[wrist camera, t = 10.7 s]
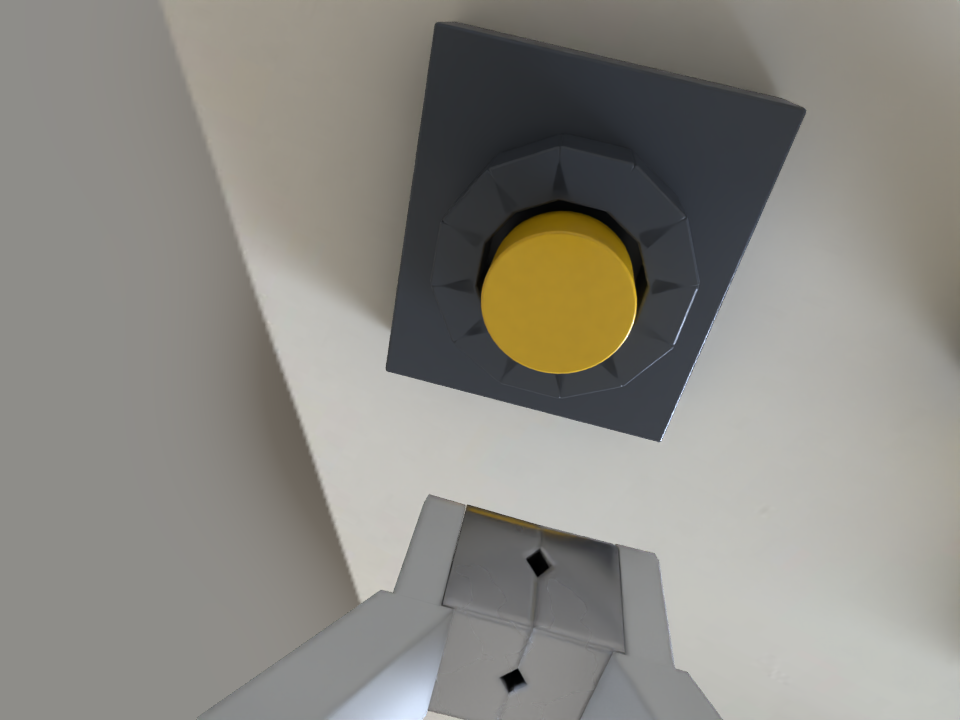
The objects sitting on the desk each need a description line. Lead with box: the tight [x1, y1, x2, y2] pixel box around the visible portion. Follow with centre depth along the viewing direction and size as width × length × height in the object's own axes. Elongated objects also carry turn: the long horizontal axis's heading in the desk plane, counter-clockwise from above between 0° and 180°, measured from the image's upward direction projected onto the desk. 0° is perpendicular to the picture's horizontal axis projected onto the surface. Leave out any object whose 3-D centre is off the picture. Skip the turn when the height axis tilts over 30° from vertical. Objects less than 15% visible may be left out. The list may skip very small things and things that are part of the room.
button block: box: [386, 22, 806, 442], centre depth 17 cm, size 10×9×4 cm
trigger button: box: [481, 211, 637, 374], centre depth 15 cm, size 4×4×2 cm
